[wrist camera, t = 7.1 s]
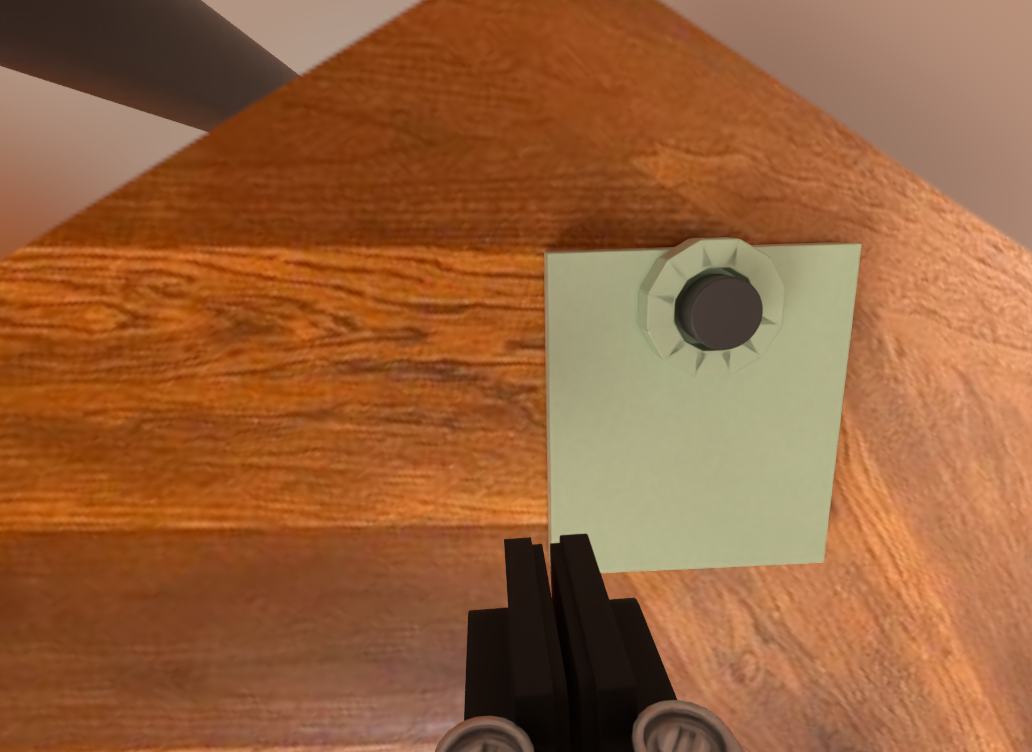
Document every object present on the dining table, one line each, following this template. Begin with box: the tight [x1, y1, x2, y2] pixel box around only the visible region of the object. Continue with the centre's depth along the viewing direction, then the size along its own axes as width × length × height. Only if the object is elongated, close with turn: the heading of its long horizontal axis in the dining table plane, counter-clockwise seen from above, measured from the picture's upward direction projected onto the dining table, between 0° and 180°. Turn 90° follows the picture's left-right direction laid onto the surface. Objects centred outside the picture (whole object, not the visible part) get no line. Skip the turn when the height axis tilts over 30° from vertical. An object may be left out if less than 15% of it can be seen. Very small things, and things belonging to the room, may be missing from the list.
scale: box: [544, 237, 862, 573], centre depth 28 cm, size 16×14×4 cm
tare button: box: [679, 274, 763, 350], centre depth 24 cm, size 3×3×2 cm
